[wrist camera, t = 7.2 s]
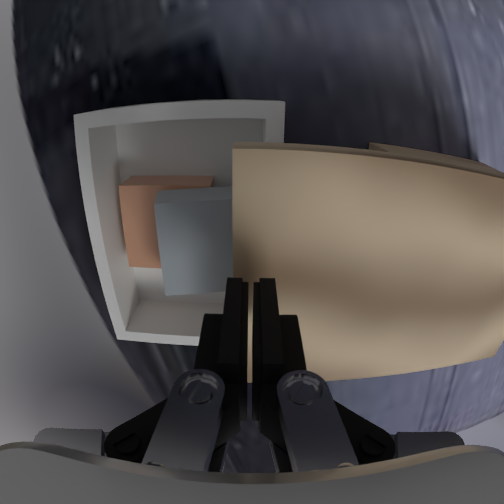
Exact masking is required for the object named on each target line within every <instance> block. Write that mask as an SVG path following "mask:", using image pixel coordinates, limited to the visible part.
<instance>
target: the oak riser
mask: <svg viewBox="0 0 504 504" xmlns="http://www.w3.org/2000/svg"><path fill="white" fill-rule="evenodd" d="M232 223H233V278H243V282H249V289H248V367H247V382H252V324H253V283H254V282H259V279H260V278H275V281H276V290H277V299H278V307H279V315H297V317H298V321H299V327H300V333H301V338H302V344H303V350H304V356H305V362H306V368H307V371H311V372H314V373H316V374H318V375H319V376H321V377H322V378H323V379H324V380H325V381H332V380H346V379H358V378H368V377H378V376H387V375H395V374H403V373H410V372H417V371H423V370H429V369H435V368H441V367H446V366H452V365H457V364H462V363H467V362H471V361H476V360H480V359H485V358H489V357H493V356H495V354H496V352H497V351H498V349H499V347H500V346H501V344H502V342H503V340H504V173H502V172H500V171H498V170H496V169H494V168H492V167H490V166H488V165H486V164H483V163H481V162H479V161H474V160H470V159H465V158H461V157H456V156H451V155H446V154H441V153H436V152H431V151H425V150H419V149H413V148H407V147H401V146H394V145H387V144H379V143H372V142H369V149H368V150H367V149H357V148H348V147H337V146H324V145H310V144H293V143H270V142H235V143H234V146H233V148H232Z"/></svg>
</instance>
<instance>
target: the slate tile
mask: <svg viewBox="0 0 504 504" xmlns="http://www.w3.org/2000/svg"><path fill="white" fill-rule="evenodd" d="M154 211H155V220H156V229H157V238H158V246H159V254H160V261H161V268H162V275H163V282H164V288H165V295H166V296H171V295H185V294H199V293H212V292H224V291H226V283H227V277H233V223H232V186H226V187H206V188H189V189H174V190H161V191H158V192H157V195H156V198H155V202H154Z"/></svg>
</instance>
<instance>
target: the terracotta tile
mask: <svg viewBox="0 0 504 504" xmlns="http://www.w3.org/2000/svg"><path fill="white" fill-rule="evenodd" d="M206 187H214V176H187V175H162V176H131V177H129V178H128V179H127V180H125V181H124V182H123V183H121V184H120V185H119V196H120V206H121V214H122V222H123V230H124V237H125V244H126V251H127V257H128V263H129V267H143V268H161V261H160V254H159V246H158V238H157V229H156V220H155V211H154V202H155V198H156V195H157V192H158V191H161V190H174V189H189V188H206Z"/></svg>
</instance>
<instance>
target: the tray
mask: <svg viewBox="0 0 504 504" xmlns="http://www.w3.org/2000/svg"><path fill="white" fill-rule="evenodd" d="M284 123H285V102H284V101H279V100H249V99H220V100H190V101H173V102H160V103H148V104H139V105H130V106H122V107H114V108H107V109H101V110H96V111H90V112H85V113H80V114H76V115H74V127H75V139H76V150H77V159H78V167H79V175H80V182H81V189H82V195H83V202H84V208H85V213H86V219H87V224H88V229H89V234H90V239H91V244H92V248H93V253H94V257H95V261H96V266H97V270H98V274H99V278H100V282H101V285H102V289H103V293H104V296H105V300H106V303H107V307H108V310H109V314H110V317H111V320H112V323H113V327H114V330H115V333H116V336H117V339H121V340H131V341H141V342H152V343H165V344H179V345H196V346H198V344H199V338H200V333H201V328H202V322H203V317H204V314H205V313H210V314H223V309H224V300H225V291H224V292H212V293H199V294H185V295H171V296H166V295H165V288H164V282H163V275H162V268H143V267H129V263H128V257H127V251H126V244H125V237H124V230H123V222H122V214H121V206H120V196H119V185H120V184H121V183H123V182H124V181H125V180H127V179H128V178H129V177H131V176H162V175H187V176H214V187H226V186H232V148H233V146H234V143H235V142H270V143H284Z"/></svg>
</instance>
